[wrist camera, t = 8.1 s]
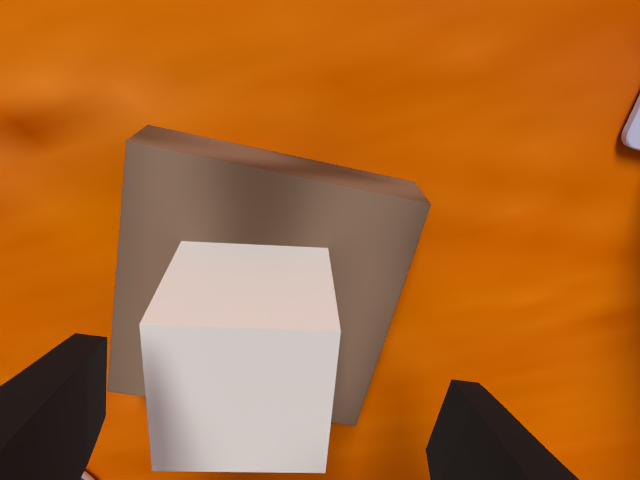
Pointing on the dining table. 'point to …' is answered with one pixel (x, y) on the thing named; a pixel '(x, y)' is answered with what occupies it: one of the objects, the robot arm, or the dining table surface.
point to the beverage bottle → (86, 476)
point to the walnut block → (263, 238)
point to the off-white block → (241, 359)
